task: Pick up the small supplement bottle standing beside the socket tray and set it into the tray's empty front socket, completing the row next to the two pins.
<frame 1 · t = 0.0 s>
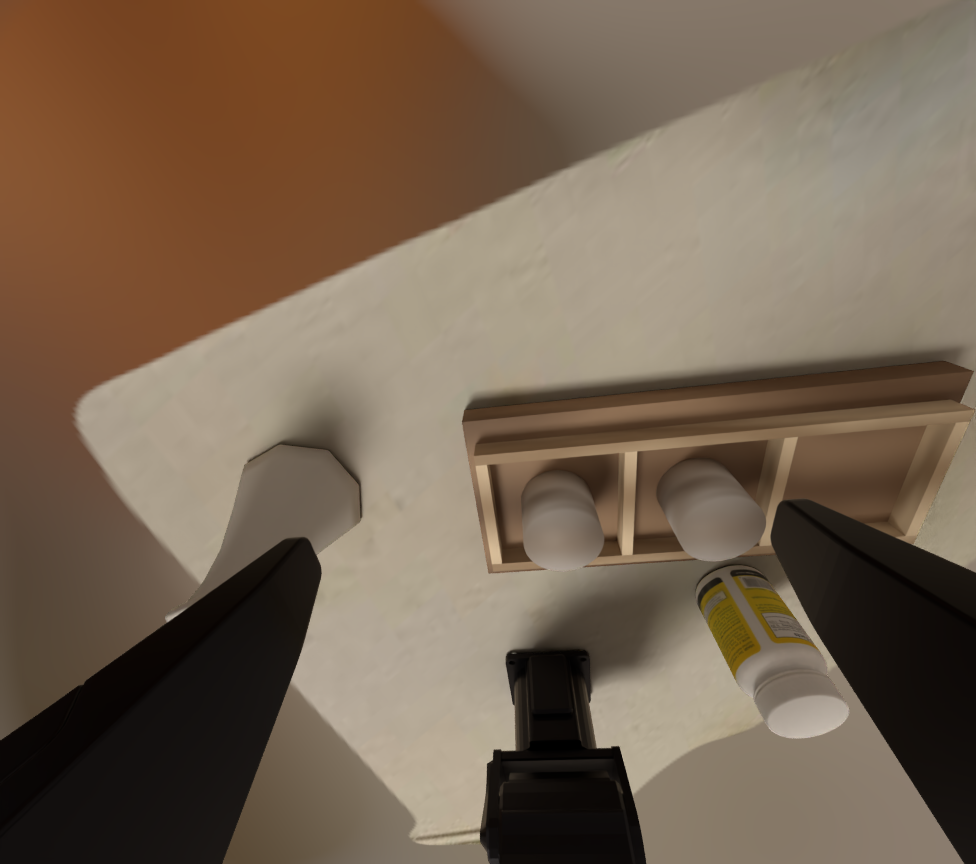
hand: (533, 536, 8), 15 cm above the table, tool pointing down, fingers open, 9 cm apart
flask: (307, 489, 26), on the table
supplement bottle: (728, 585, 29), on the table
socket tray: (682, 473, 25), on the table
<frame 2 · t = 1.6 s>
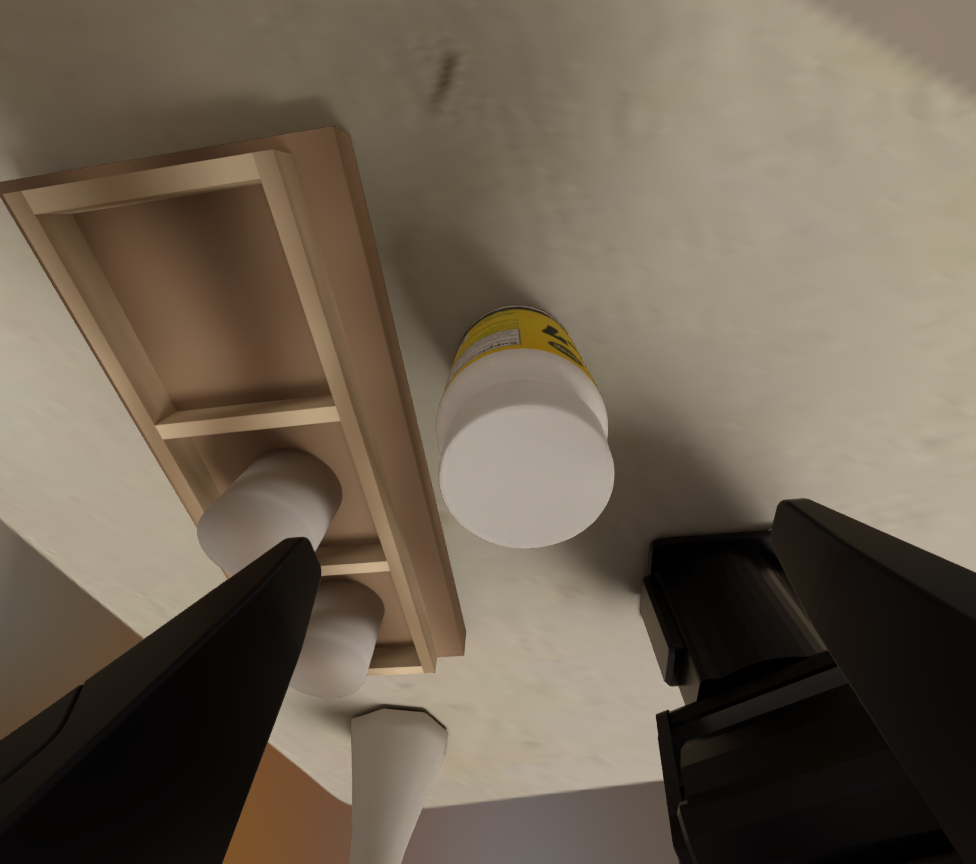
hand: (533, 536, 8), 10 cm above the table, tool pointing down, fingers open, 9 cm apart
flask: (401, 728, 31), on the table
supplement bottle: (515, 361, 17), on the table
socket tray: (310, 468, 19), on the table
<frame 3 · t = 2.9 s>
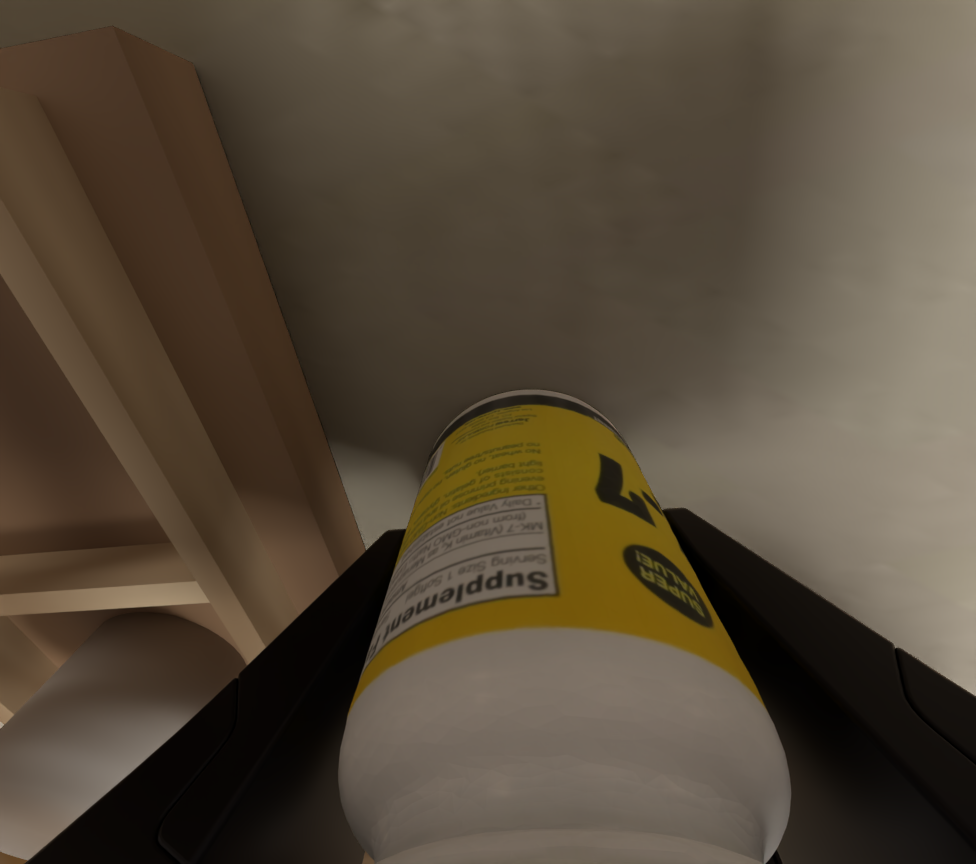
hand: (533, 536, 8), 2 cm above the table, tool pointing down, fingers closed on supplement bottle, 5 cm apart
supplement bottle: (527, 471, 10), on the table, touching gripper
socket tray: (208, 614, 13), on the table
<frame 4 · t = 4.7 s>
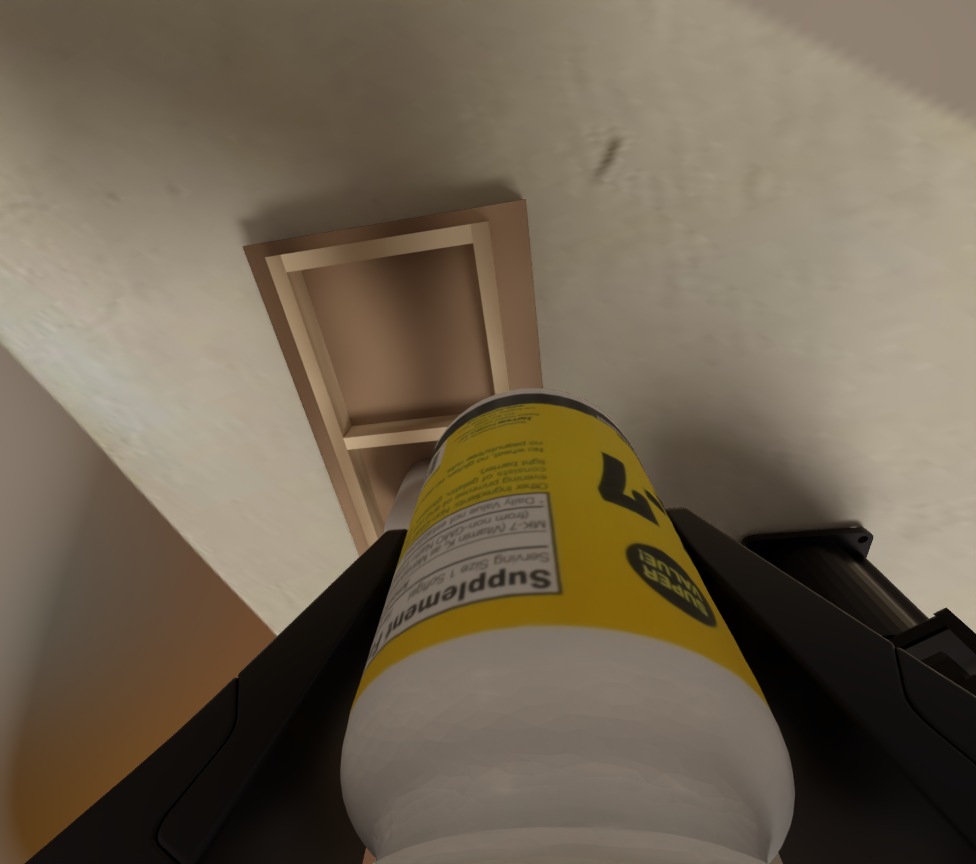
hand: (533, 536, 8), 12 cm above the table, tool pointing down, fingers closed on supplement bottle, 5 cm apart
supplement bottle: (529, 470, 10), point 10 cm above the table, touching gripper
socket tray: (445, 474, 22), on the table
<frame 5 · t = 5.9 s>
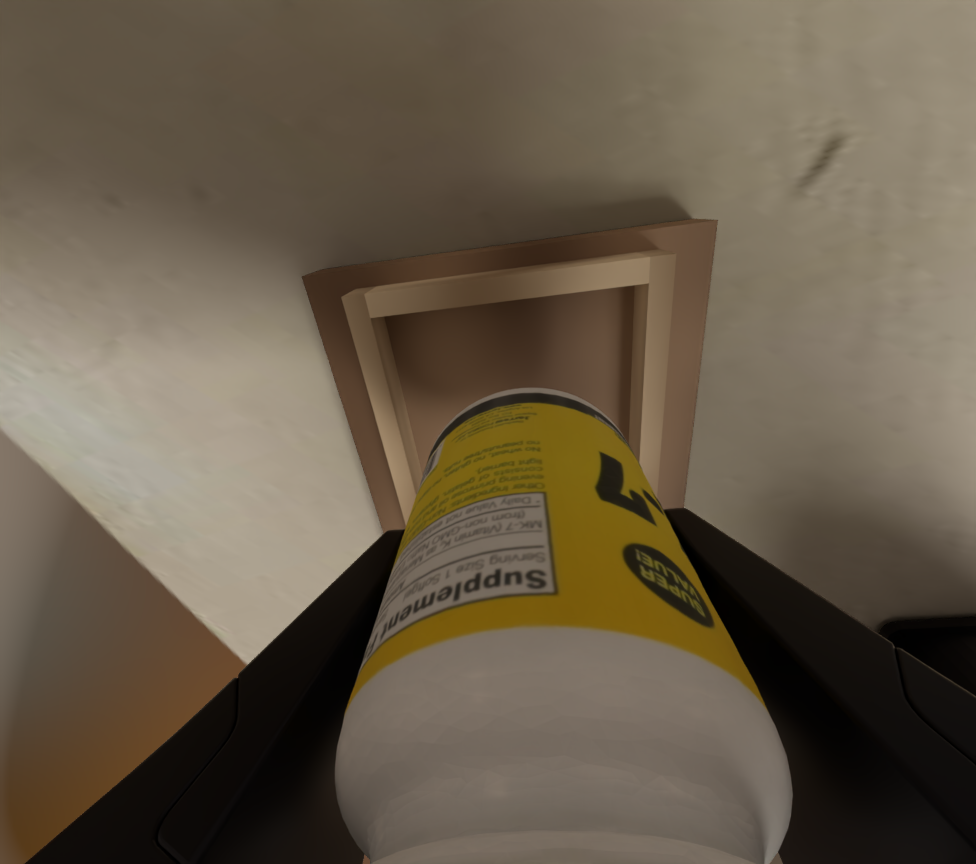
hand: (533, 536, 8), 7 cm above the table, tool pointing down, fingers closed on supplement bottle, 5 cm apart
supplement bottle: (528, 470, 10), point 5 cm above the table, touching gripper
socket tray: (532, 551, 18), on the table
when the fingers open (4 cm above the table, at t = 6.8 s): supplement bottle stays where it is, resting on socket tray.
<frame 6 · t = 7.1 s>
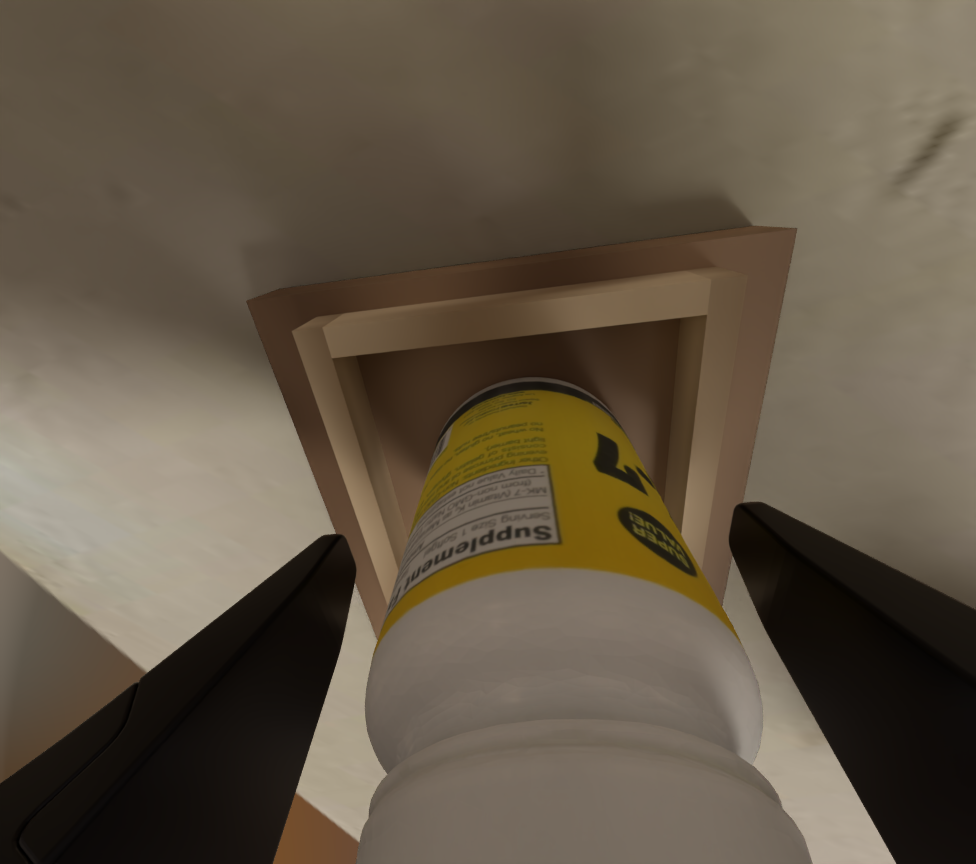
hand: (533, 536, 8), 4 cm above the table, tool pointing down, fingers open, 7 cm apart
supplement bottle: (529, 456, 11), point 1 cm above the table, touching socket tray
socket tray: (540, 614, 15), on the table
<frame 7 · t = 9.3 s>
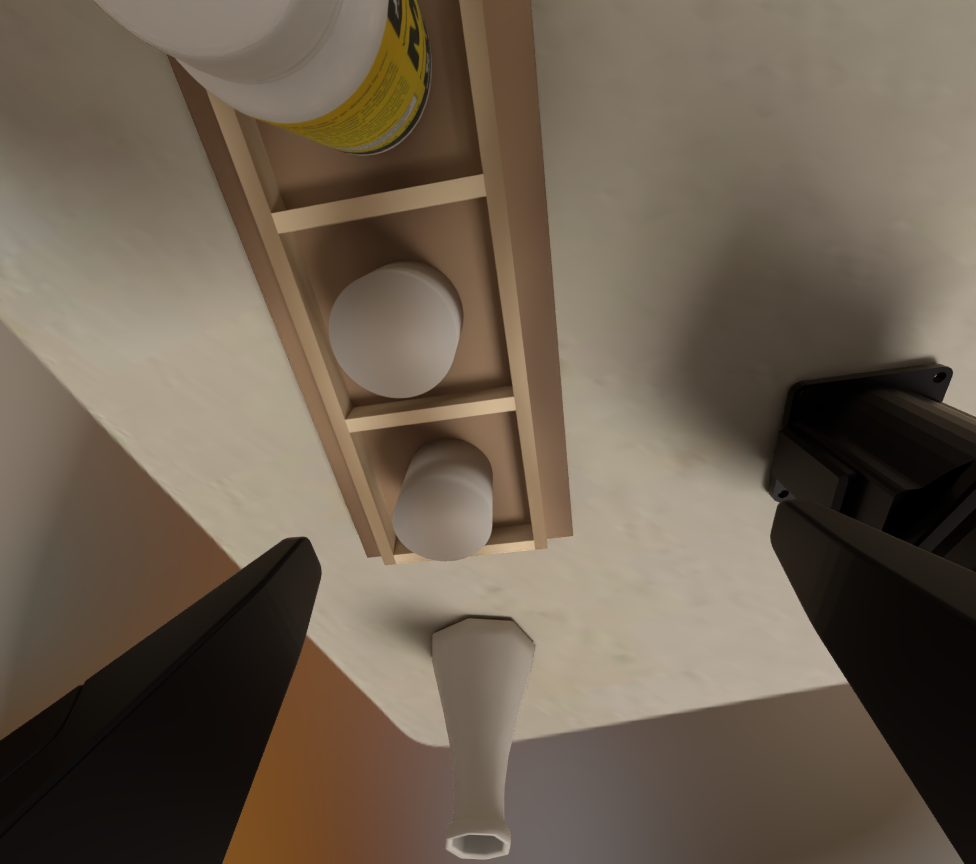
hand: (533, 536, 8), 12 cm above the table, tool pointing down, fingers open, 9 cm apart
flask: (483, 646, 29), on the table
supplement bottle: (357, 65, 13), point 1 cm above the table, touching socket tray
socket tray: (418, 306, 18), on the table
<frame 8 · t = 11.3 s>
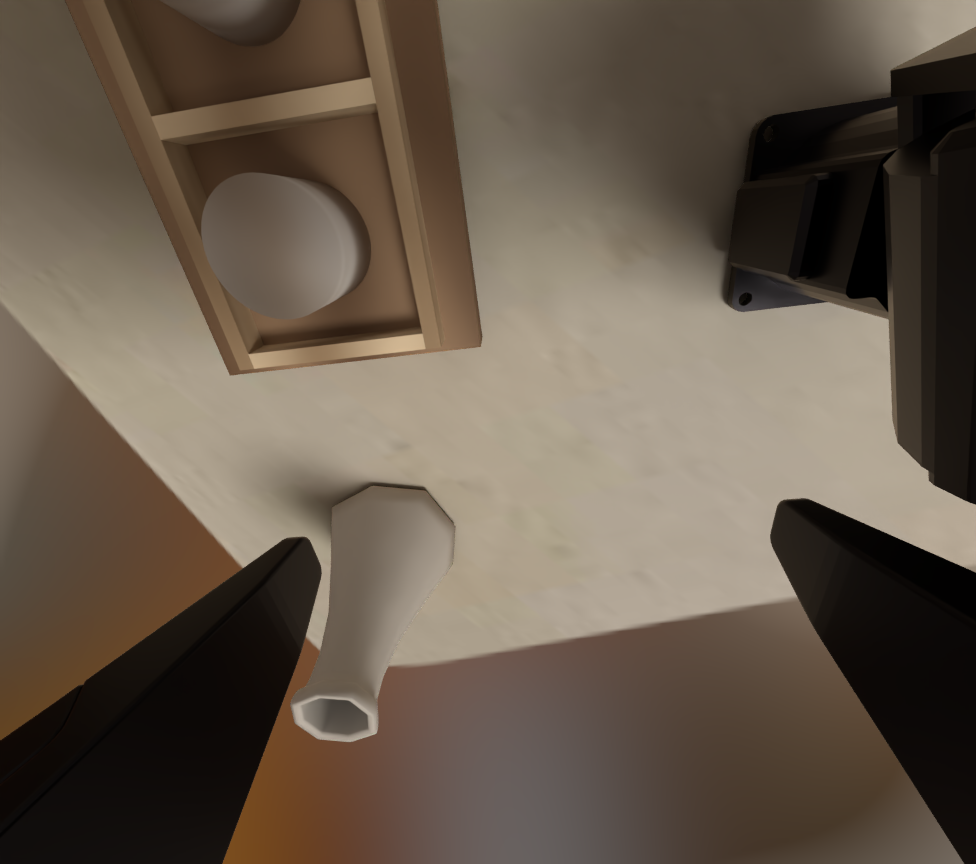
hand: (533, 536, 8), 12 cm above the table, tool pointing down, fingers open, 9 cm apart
flask: (396, 530, 24), on the table
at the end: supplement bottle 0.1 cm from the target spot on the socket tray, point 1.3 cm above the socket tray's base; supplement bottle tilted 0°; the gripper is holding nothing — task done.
